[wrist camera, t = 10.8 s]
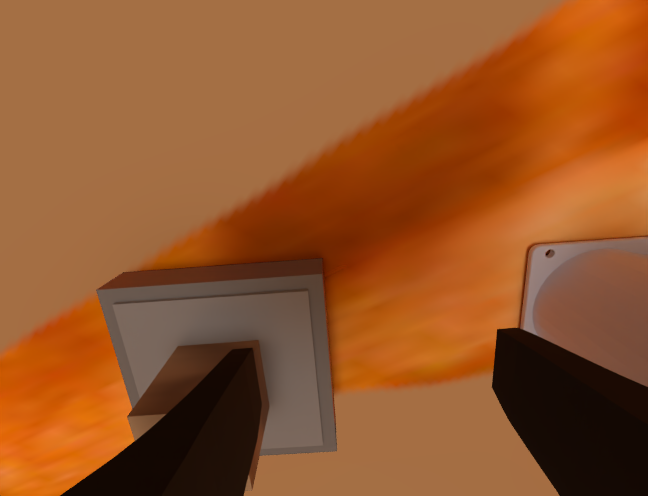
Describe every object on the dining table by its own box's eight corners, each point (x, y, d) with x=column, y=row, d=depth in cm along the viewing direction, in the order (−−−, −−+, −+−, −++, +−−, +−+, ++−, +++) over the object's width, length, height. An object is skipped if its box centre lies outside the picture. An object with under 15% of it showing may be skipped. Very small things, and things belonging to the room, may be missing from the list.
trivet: (322, 258, 20) (322, 275, 17) (335, 419, 24) (336, 454, 21) (123, 272, 20) (93, 292, 18) (166, 430, 24) (146, 465, 21)
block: (258, 339, 18) (235, 409, 14) (269, 406, 20) (252, 490, 15) (177, 346, 19) (126, 416, 14) (194, 411, 20) (153, 496, 15)
